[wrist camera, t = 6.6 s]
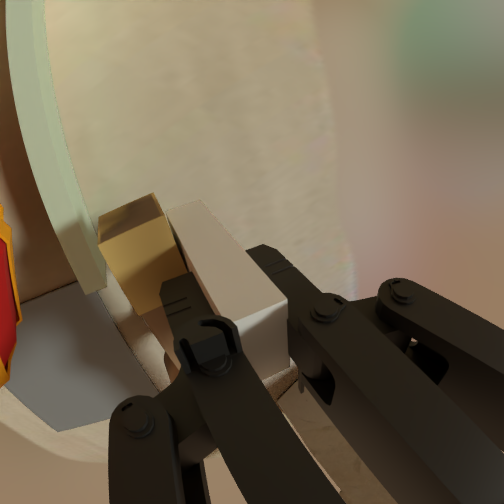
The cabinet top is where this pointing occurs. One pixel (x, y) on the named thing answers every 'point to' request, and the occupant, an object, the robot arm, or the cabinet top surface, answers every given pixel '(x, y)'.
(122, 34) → the cabinet top surface
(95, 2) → the cabinet top surface
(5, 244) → the potion bottle
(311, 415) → the sculpture
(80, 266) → the channel
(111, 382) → the mat
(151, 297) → the turn bar
